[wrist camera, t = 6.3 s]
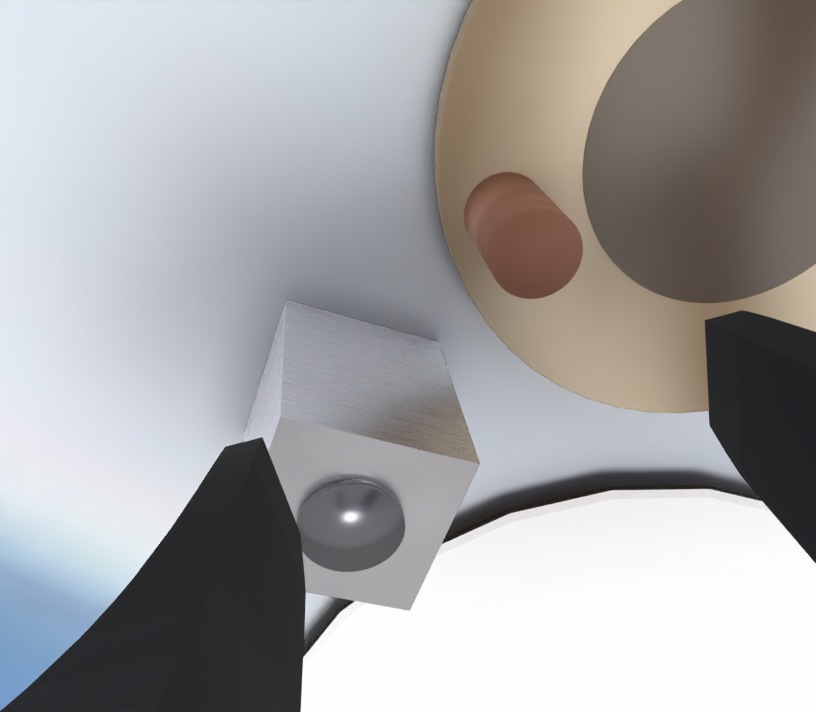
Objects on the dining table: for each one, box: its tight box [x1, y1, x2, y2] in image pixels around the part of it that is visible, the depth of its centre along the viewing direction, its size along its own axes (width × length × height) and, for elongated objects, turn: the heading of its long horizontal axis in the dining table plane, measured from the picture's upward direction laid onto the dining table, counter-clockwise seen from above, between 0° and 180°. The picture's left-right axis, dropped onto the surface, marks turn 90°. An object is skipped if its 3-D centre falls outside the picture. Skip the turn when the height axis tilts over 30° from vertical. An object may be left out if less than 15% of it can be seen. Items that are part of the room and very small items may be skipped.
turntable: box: [434, 0, 816, 413], centre depth 18 cm, size 15×15×4 cm
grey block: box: [243, 300, 480, 611], centre depth 20 cm, size 4×4×6 cm
